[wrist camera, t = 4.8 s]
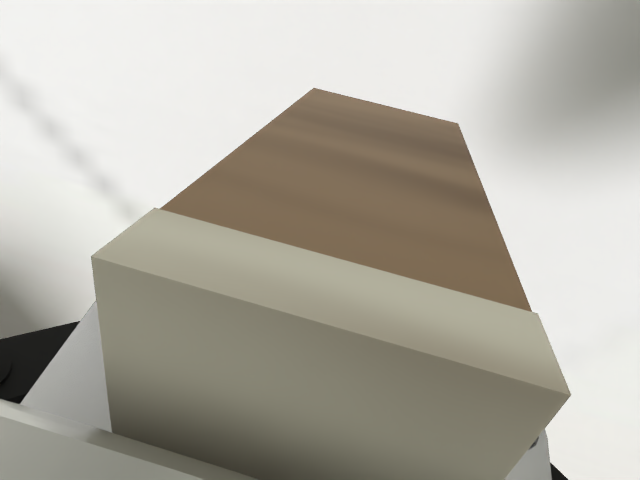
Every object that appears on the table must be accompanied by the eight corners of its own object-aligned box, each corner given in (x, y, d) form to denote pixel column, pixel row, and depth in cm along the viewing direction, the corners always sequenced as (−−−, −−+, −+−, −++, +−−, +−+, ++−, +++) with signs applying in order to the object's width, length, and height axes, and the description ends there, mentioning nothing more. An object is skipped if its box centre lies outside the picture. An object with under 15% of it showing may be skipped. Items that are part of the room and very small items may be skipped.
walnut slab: (313, 86, 11) (90, 256, 3) (459, 122, 11) (571, 395, 3) (273, 308, 15) (132, 609, 8) (379, 338, 15) (342, 683, 7)
